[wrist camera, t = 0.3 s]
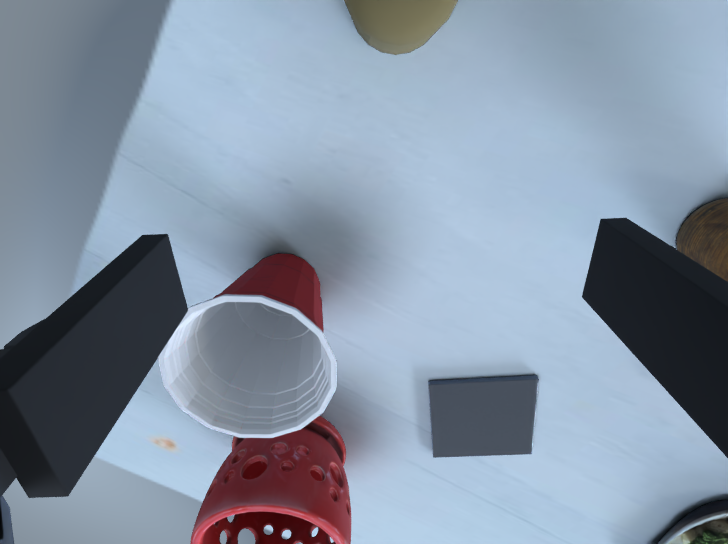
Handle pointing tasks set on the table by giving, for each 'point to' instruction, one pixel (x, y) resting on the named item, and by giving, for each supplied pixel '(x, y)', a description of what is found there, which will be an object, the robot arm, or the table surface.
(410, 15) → the cork
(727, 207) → the utensil holder
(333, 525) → the flower pot
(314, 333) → the plastic cup
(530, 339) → the table surface
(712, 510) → the avocado toast plate
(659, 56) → the table surface
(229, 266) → the table surface
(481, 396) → the slate coaster
